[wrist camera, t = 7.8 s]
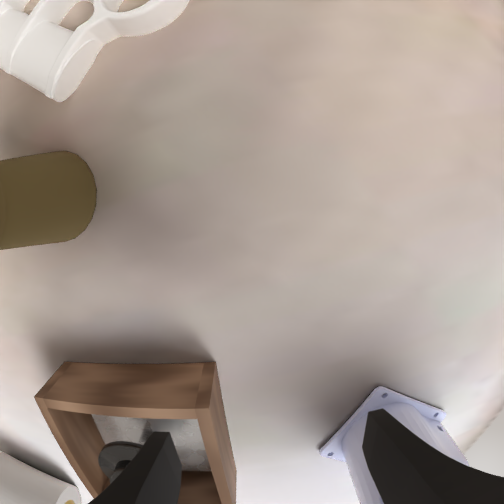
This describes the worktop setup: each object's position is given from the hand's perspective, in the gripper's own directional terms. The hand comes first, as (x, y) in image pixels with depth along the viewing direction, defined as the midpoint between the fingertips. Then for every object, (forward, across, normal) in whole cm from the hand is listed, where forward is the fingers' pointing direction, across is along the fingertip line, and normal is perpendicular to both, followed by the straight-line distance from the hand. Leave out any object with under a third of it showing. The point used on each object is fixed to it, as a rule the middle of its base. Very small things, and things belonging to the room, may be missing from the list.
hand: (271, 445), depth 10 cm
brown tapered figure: (+11, +12, -10) cm, 19 cm away
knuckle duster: (+12, +11, -25) cm, 30 cm away
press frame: (+10, +9, +8) cm, 16 cm away
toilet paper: (+11, +27, +20) cm, 35 cm away
